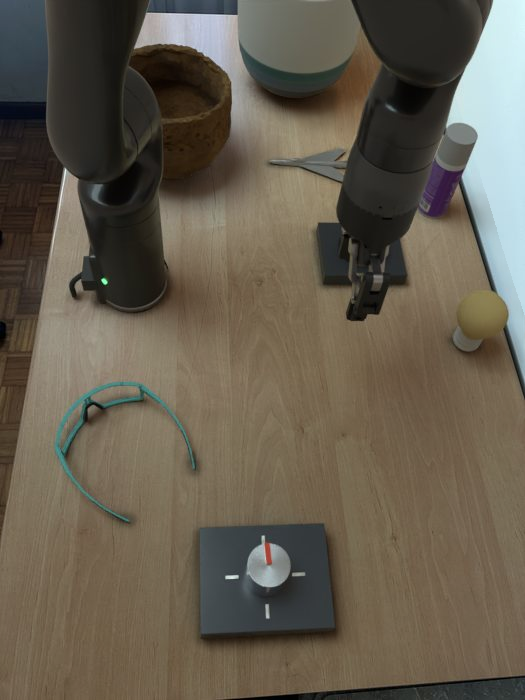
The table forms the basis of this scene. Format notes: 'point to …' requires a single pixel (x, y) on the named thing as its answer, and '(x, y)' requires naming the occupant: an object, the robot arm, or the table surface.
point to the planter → (297, 43)
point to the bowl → (187, 105)
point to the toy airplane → (319, 163)
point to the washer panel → (250, 609)
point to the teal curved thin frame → (90, 402)
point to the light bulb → (479, 319)
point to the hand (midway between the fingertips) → (351, 286)
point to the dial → (267, 569)
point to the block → (338, 268)
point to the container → (447, 169)
